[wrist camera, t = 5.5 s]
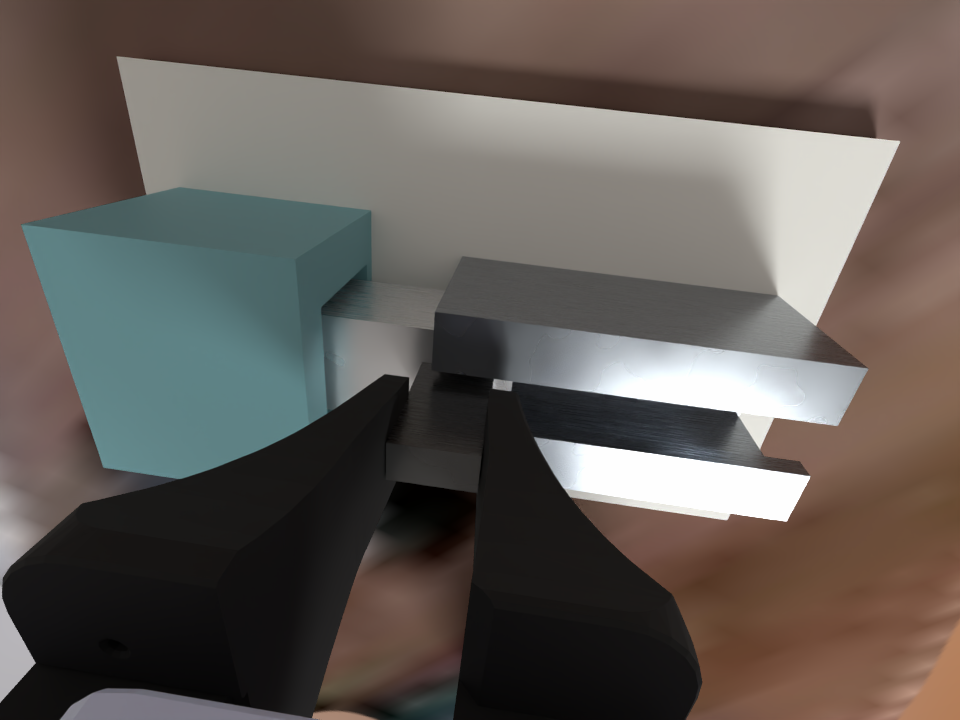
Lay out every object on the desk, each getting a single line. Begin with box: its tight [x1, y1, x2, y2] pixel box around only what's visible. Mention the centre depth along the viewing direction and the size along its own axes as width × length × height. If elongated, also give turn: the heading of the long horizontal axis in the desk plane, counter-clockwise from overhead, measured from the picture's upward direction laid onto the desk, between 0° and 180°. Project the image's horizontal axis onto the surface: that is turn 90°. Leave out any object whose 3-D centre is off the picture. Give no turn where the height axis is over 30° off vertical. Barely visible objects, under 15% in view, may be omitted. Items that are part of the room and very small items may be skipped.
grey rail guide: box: [432, 256, 868, 521], centre depth 15 cm, size 5×10×5 cm, turn 85°
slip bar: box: [321, 279, 513, 493], centre depth 13 cm, size 3×10×7 cm, turn 85°
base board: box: [116, 56, 900, 520], centre depth 17 cm, size 14×22×1 cm, turn 85°
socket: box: [21, 187, 372, 479], centre depth 15 cm, size 7×6×6 cm
